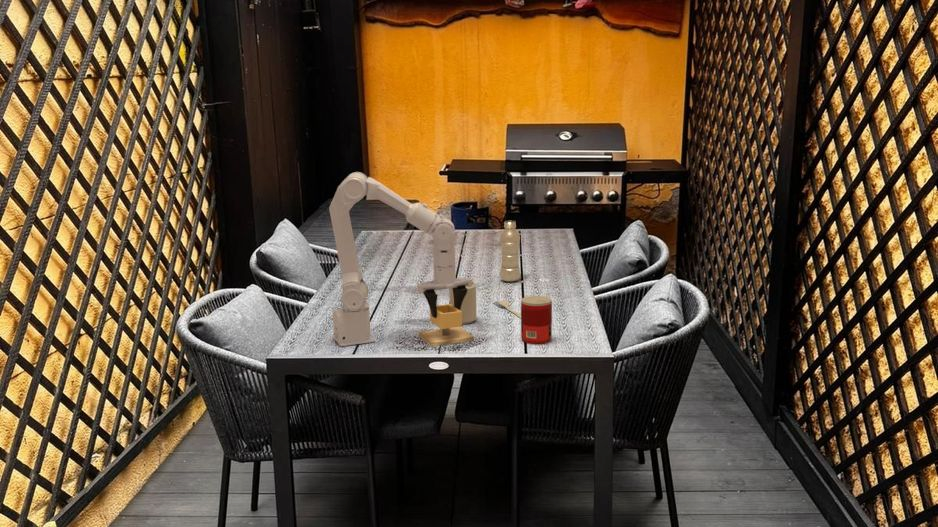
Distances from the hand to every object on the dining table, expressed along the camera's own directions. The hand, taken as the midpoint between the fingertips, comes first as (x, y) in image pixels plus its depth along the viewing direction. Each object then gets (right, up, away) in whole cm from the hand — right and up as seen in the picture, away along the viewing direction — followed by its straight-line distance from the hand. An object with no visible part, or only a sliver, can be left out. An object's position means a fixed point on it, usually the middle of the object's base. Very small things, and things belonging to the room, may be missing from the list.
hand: (445, 315), depth 232 cm
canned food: (+24, -7, -1) cm, 25 cm away
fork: (+18, -1, +25) cm, 31 cm away
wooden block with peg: (0, -6, +1) cm, 6 cm away
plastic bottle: (+20, +8, +59) cm, 63 cm away
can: (+5, -3, +16) cm, 17 cm away
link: (0, -2, 0) cm, 2 cm away
